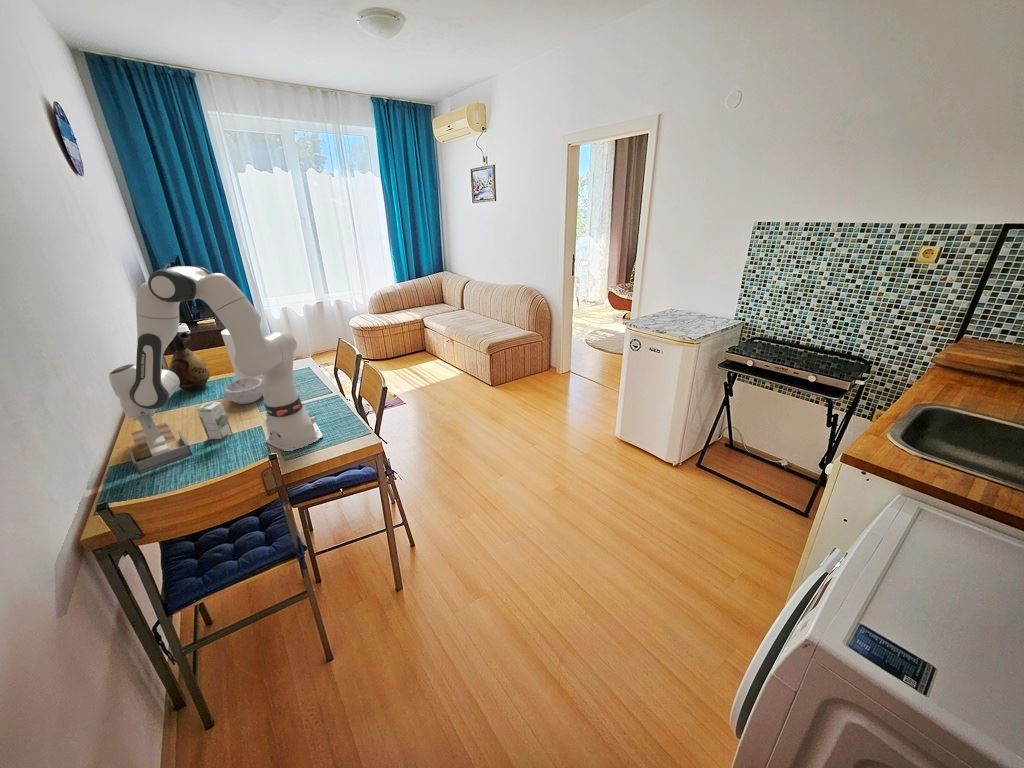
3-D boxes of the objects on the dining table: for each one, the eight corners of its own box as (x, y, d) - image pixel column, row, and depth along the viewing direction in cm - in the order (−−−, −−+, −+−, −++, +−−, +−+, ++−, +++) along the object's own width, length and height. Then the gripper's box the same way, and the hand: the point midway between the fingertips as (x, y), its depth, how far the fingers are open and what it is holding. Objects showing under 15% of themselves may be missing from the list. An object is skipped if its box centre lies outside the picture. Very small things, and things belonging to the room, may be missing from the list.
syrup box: (219, 434, 160) (206, 401, 154) (233, 433, 160) (221, 401, 154) (208, 442, 155) (195, 408, 149) (223, 441, 155) (210, 408, 148)
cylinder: (246, 392, 194) (227, 337, 182) (234, 383, 205) (216, 330, 193) (283, 381, 205) (268, 328, 194) (271, 372, 216) (255, 321, 204)
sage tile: (168, 446, 150) (165, 440, 149) (150, 451, 147) (148, 446, 146) (165, 441, 153) (162, 435, 152) (148, 446, 150) (145, 440, 149)
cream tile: (171, 453, 148) (168, 447, 146) (154, 459, 144) (151, 453, 143) (168, 448, 151) (166, 442, 150) (151, 454, 147) (149, 448, 146)
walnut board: (177, 442, 155) (175, 439, 154) (140, 455, 148) (138, 452, 147) (167, 425, 167) (165, 422, 167) (132, 436, 160) (131, 433, 160)
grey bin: (192, 455, 147) (188, 444, 145) (139, 474, 137) (133, 464, 135) (184, 440, 156) (179, 430, 154) (133, 458, 146) (127, 448, 144)
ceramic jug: (221, 382, 206) (201, 325, 193) (193, 396, 192) (169, 336, 179) (194, 380, 209) (172, 324, 197) (165, 393, 196) (139, 334, 183)
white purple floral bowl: (255, 407, 180) (249, 391, 177) (221, 407, 181) (215, 391, 177) (274, 392, 194) (269, 377, 191) (243, 392, 194) (237, 377, 191)
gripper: (156, 414, 142) (171, 447, 148) (147, 397, 155) (161, 428, 161) (132, 421, 138) (149, 454, 144) (125, 402, 151) (141, 434, 157)
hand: (155, 440), depth 152 cm, fingers closed
